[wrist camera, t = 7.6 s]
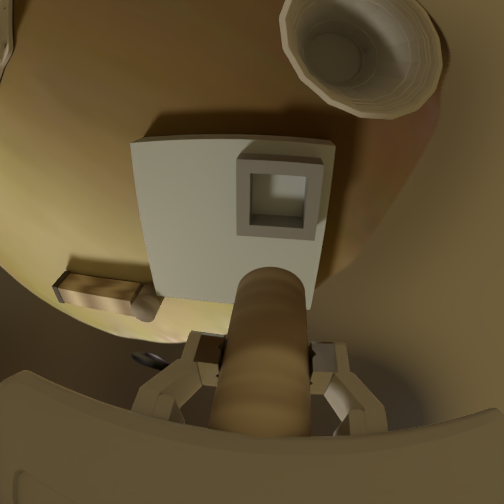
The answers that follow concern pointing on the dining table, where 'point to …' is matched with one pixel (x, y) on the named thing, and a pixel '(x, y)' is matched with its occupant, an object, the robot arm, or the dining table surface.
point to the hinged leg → (109, 295)
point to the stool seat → (231, 209)
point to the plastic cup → (363, 53)
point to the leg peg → (265, 359)
